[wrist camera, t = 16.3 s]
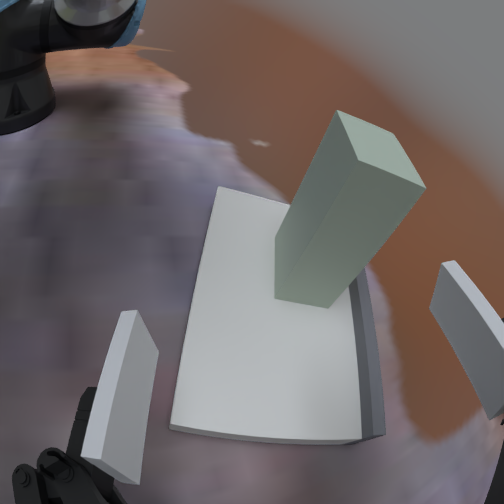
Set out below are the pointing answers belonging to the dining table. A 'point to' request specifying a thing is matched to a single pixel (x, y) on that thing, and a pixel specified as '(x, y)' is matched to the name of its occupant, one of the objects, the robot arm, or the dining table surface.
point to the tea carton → (343, 211)
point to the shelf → (272, 344)
